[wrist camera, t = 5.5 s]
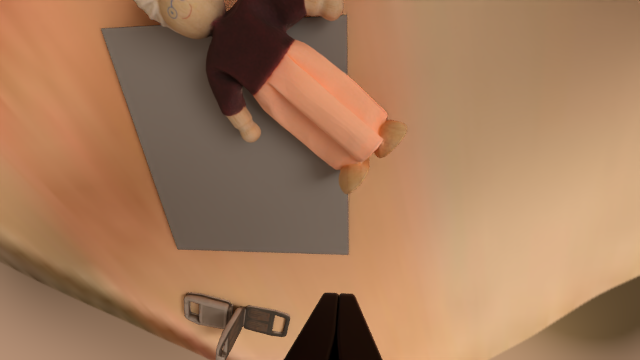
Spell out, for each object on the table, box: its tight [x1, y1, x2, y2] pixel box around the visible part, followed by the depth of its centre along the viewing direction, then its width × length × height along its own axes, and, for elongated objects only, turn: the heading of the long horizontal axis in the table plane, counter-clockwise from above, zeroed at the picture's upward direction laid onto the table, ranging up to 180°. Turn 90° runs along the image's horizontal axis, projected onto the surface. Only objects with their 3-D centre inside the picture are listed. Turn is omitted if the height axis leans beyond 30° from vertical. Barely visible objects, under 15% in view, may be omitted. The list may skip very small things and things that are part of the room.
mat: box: [101, 15, 349, 255], centre depth 18 cm, size 12×14×1 cm
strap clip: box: [184, 292, 290, 360], centre depth 23 cm, size 8×3×4 cm, turn 79°
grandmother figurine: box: [134, 0, 407, 194], centre depth 14 cm, size 8×4×13 cm
